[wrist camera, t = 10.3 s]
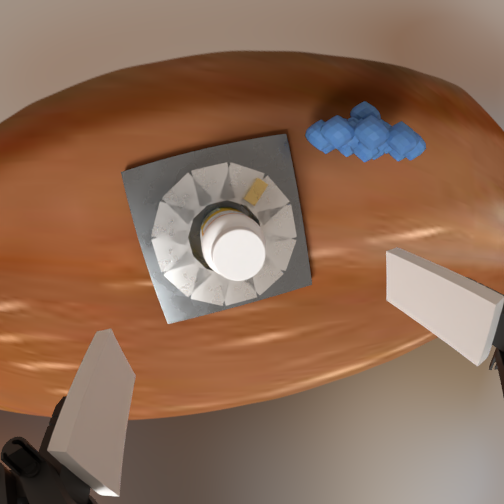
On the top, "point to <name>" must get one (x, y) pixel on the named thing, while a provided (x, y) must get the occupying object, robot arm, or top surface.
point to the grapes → (365, 136)
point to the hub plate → (200, 205)
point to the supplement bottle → (232, 244)
